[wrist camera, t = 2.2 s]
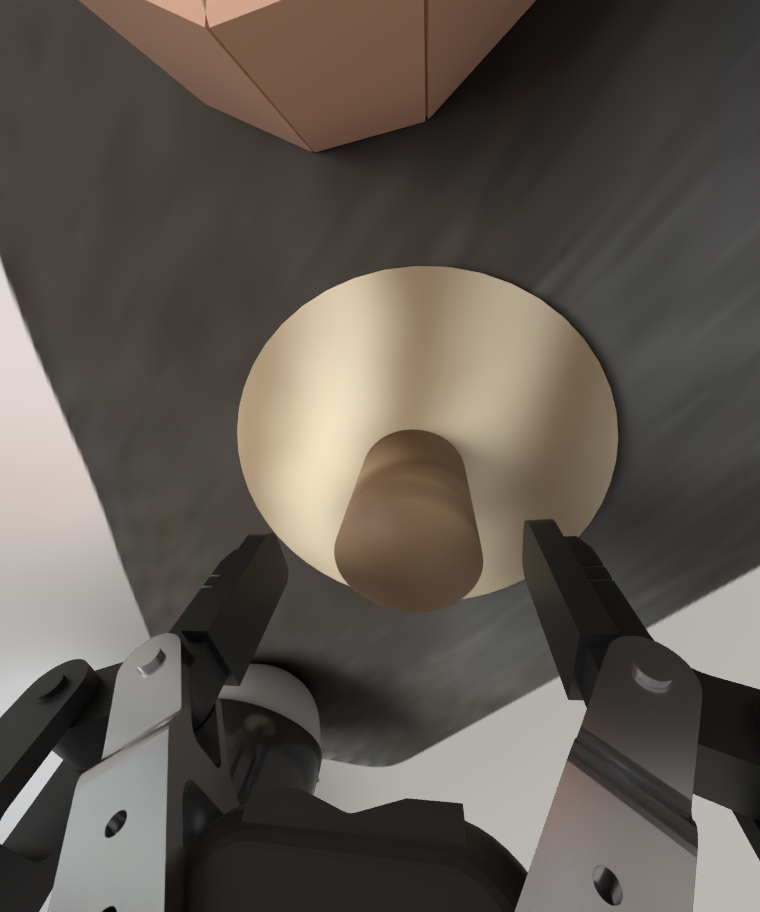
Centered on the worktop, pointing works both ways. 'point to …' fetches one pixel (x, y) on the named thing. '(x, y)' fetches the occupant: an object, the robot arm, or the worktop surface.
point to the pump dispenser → (271, 731)
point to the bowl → (316, 57)
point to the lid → (425, 433)
